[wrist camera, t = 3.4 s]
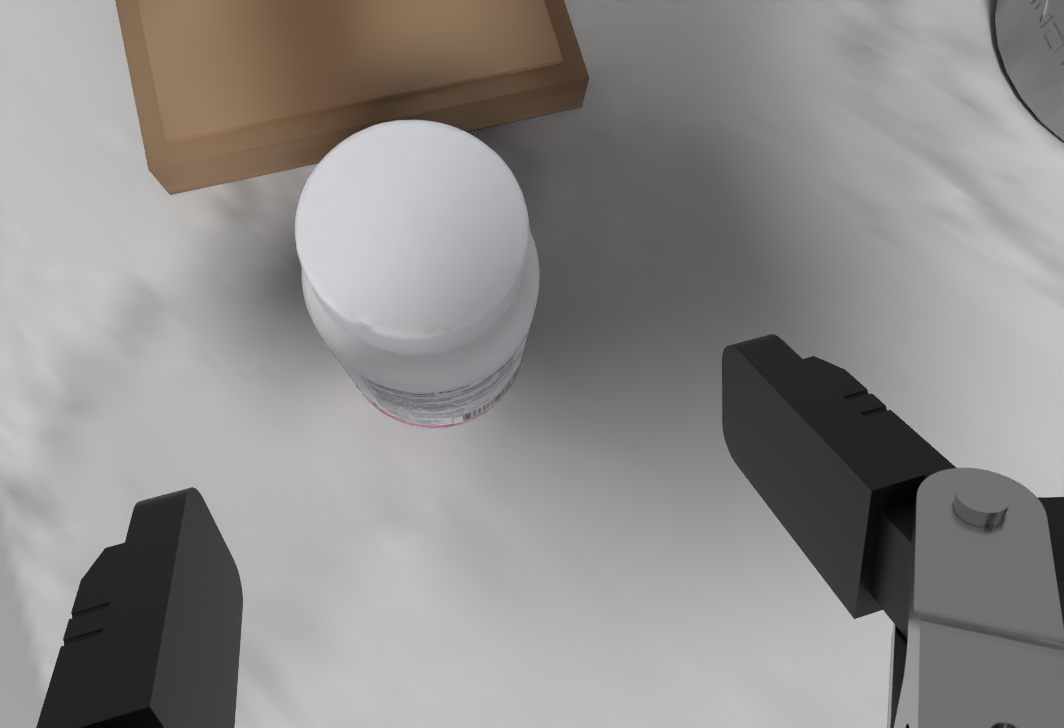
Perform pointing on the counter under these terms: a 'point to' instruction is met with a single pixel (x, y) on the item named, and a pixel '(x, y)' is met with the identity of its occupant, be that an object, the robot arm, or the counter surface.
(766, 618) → the counter surface
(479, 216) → the pill bottle
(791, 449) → the robot arm
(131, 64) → the walnut tray
